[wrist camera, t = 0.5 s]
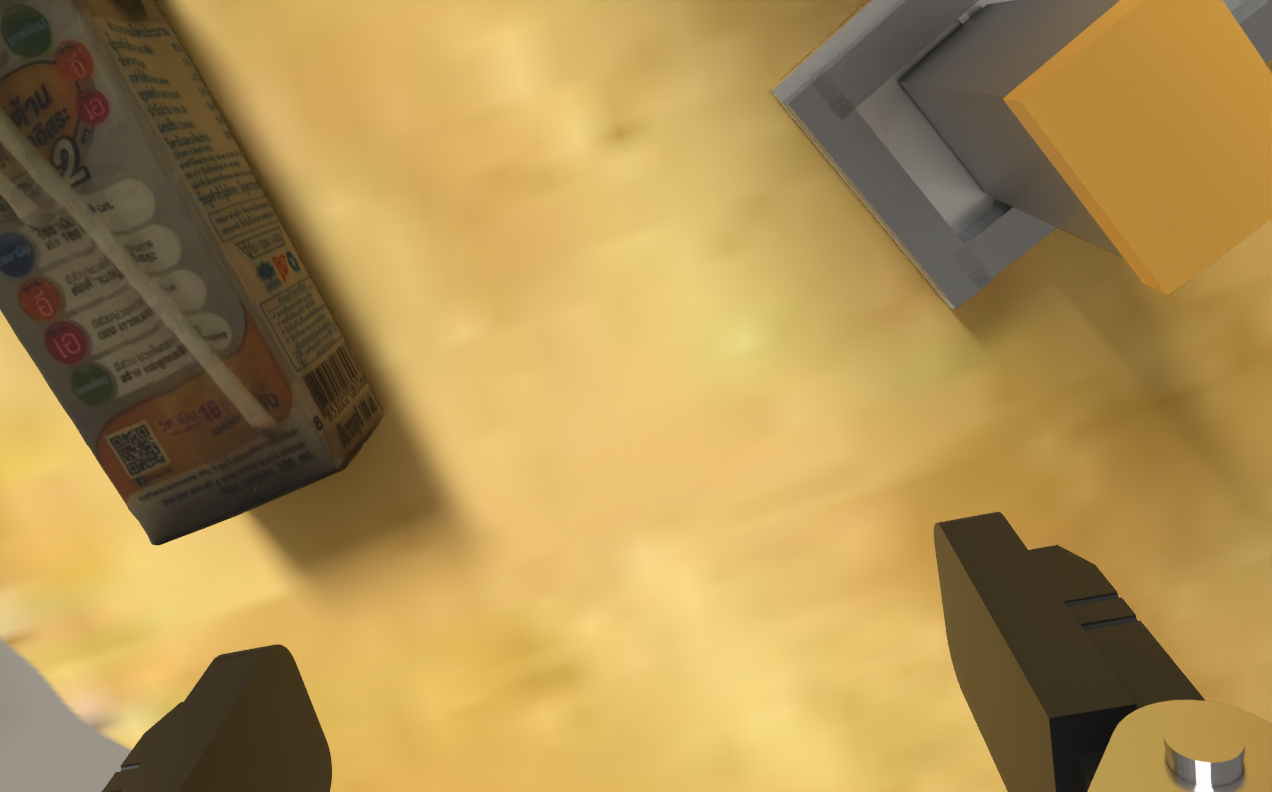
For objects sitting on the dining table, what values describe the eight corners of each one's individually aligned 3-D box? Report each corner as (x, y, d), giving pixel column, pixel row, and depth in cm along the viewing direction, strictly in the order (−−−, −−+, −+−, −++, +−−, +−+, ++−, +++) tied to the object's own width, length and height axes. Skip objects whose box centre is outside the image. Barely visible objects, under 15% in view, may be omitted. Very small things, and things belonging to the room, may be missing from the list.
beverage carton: (132, -79, 33) (10, -107, 27) (401, 416, 39) (351, 486, 33) (-59, 23, 35) (-218, 19, 28) (228, 488, 40) (147, 569, 34)
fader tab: (986, 205, 34) (1167, 295, 22) (888, 82, 33) (1021, 101, 20) (1086, 123, 33) (1337, 169, 21) (989, -7, 32) (1193, -43, 19)
